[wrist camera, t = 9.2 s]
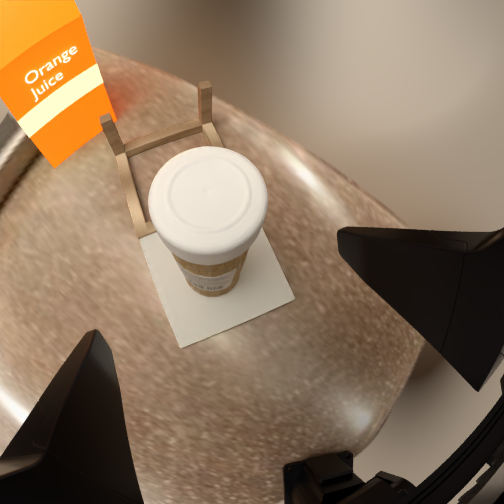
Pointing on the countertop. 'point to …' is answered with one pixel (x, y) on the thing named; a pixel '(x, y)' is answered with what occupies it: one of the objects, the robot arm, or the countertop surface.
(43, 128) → the orange juice
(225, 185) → the sprinkles bottle
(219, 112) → the countertop surface
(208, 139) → the frame
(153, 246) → the mat
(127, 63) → the countertop surface
